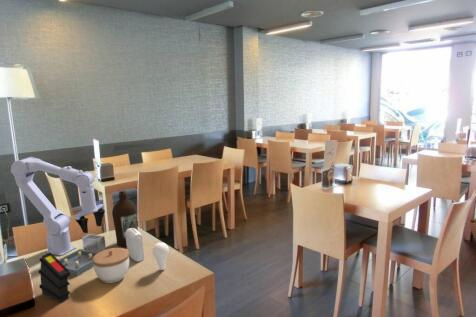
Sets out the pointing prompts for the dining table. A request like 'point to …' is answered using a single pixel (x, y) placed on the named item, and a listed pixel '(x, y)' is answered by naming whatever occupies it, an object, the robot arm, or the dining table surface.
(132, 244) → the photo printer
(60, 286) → the black layered block
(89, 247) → the block
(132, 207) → the olive oil
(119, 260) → the lidded bowl
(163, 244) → the lightbulb
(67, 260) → the tray
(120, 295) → the dining table surface
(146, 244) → the dining table surface
